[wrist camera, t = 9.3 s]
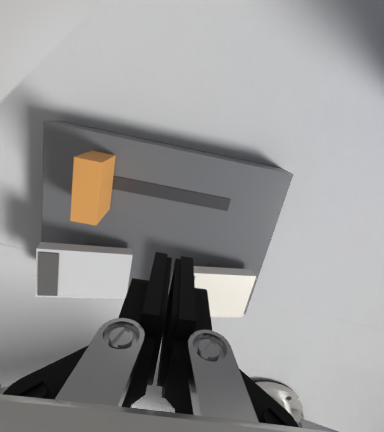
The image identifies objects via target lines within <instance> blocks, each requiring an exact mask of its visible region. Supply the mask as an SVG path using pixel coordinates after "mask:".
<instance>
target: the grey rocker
mask: <svg viewBox="0 0 384 432" xmlns="http://www.w3.org/2000/svg"><path fill="white" fill-rule="evenodd" d="M132 257H133V250H132V249H131V248H117V247H103V246H89V245H76V244H62V243H48V242H40V243H39V245H38V246H37V248H36V297H57V298H107V299H125V298H126V295H127V290H128V283H129V276H130V270H131V263H132Z"/></svg>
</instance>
